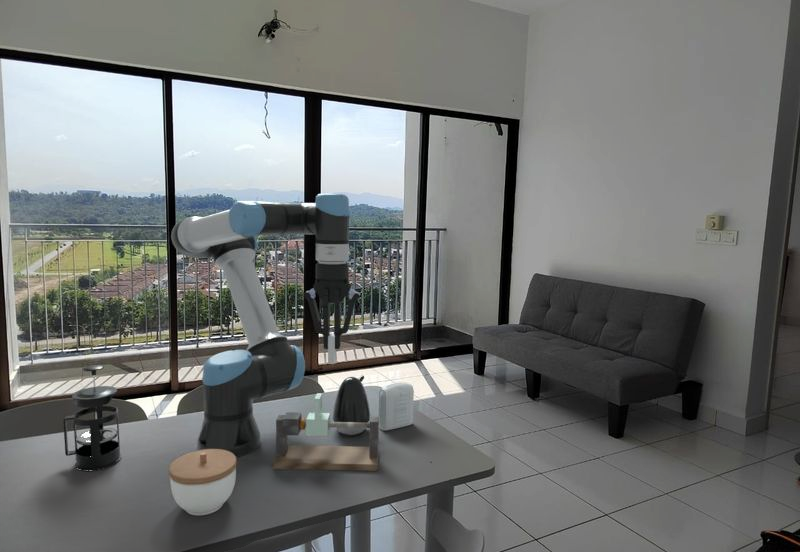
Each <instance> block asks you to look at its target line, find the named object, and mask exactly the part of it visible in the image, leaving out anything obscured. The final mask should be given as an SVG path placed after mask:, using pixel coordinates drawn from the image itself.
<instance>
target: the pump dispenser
mask: <svg viewBox="0 0 800 552" xmlns="http://www.w3.org/2000/svg"><path fill="white" fill-rule="evenodd" d="M364 379H365V376H364V375H363V374H362V375H360V377H358V378H357V377H355V376H349V377H346V378H345V379H343V381H342V382H341V383H340V385H339V388H338V390H337V393H336V396H335V400H334V404H333V410H332V422H359V423H370V417H371V408H370V403H369V399H368V394H367V392H366V389H365V387H364V384H363V383H362V382H363V381H364ZM335 428H336V430H337V431H338V432H340V434H343V435H346V436H355V435H356V436H357V435H359V434H361V433H363V432H364V431H365V430H366V429H367V428H347V427H335Z"/></svg>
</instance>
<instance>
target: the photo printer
mask: <svg viewBox="0 0 800 552" xmlns="http://www.w3.org/2000/svg"><path fill="white" fill-rule="evenodd" d="M414 394H415V390H414V386H413V384H412V383H408V382H403V381H401V382H399V381H397V382H393V383H390V384H388V385H385V386H384V387H382V388H380V390H379V396H378V399H379V400H378V417H379V430H380V431H383V432H384V431H391V430H394V429H400V428H403V427H408V426H411V425H413V422H414V401H415V400H414V396H415V395H414Z"/></svg>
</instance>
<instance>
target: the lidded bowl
mask: <svg viewBox="0 0 800 552" xmlns="http://www.w3.org/2000/svg"><path fill="white" fill-rule="evenodd" d="M168 474H169V479H170V490H171V493H172V497H173V498H174V499H173V500H174V501H175V503H176V504H177V505H178V506H179V507H180V508H181V509H183V510H184V511H185V512H186V513H187V514H188V515H191V516H198V517H199V516H201V517H202V516H206V515H210V514H213V513H216V512H217V511H219V510H220V509H221V508H222V507H223V505H224V504H225V502H227V501H228V499H229V498H230V496H231V495H232V494H233V493H232V492H233V490H234V488H235V484H236V479H237V457H236V456H235V455H234V454H233V453H231V452H229V451H226V450H222V449H204V450H198V449H197V450H194V451H191V452H188V453H185V454H183V455H181V456H179V457H178V458H177V457H176V459H174V460H173V461H172V463H170V465H169V467H168Z"/></svg>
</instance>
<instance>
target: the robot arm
mask: <svg viewBox="0 0 800 552" xmlns="http://www.w3.org/2000/svg"><path fill="white" fill-rule="evenodd" d="M350 214H351V212H350V201H349V197H348V196H347V195H346V194H341V193H318V194H317V195H316V196H315V202H303V201H301V202H299V201H298V202H297V201H296V202H293V201H291V202H290V201H289V202H288V201H287V202H286V201H260V200H258V201H256V200H252V199H251V200H239V201H235V202H234V203H233V204H232V206H231V207H230V209H227V210H223V211H220V212H216V213H213V214H210V215H206V216H189V217H187V218H182V219H181V220H179V221H177V222H176V223H175V225H174V226H173V228H172V229H171V235H170V239H171V241H172V242H171V243H172V245H173V246H174V248H175V249H176V250H177V251H178V252H179V253H180V254H182V255H184V256H186V257H189V258H192V259H213V262H214V265H215V267H216V268H217V269H218V270H222V272H223V274H224V278H225V280H226V283H227V286H228V288H229V292H230V296H231V298H232V300H233V303H234V306H235V309H236V312H237V315H238V318H239V321H240V324H241V326H242V329H243V332H244V335H245V338H246V341H247V342H248V343H247V344H248V346H247V347H246V349H235V350H226V351H222V352H219V353H216V354H214V355H212V356H210V357H208V358H207V360H206V361H205V362H204V363H203V366H202V367H203V368H202V378H201V379H202V380H201V381H202V384H203V385H202V390H203V392H202V393H203V421H202V425H201V428H200V429H199V430H200V431H199V433H198V438H197V442H196V443H197V451H198V450H204V449H222V450H226V451H229V452H231V453H233V454H234V455H235V456H236V458H237V457H241V456H245V455H247V454H249V453H251V452H254V451H255V450H256V449H258V447H259V446H260V444H261V431H260V429H259V425H258V423H257V421H256V417H255V416H254V412H253V410H254V408H253V407H254V406H253V403H254V400H258V399H261V398H265V397H269V396H272V395H277V394H280V393H287V391H289V390H293V389H295V388H297V387H298V386H299V385H300V384H301V383H302V382H303V380H304V376H305V373H306V372H305V371H306V363H305V361H306V360H305V356H304V354H303V353H304V352H302V349H301V348H300V347H298V345H292V344H291V345H290V342H289V340H288V337H287V336H285V335H283V334H281V333H280V332H279V329H278V326H277V324H276V321H275V317H274V316H273V312H272V310H271V308H270V305H269V302H268V299H267V297H266V294H265V291H264V288H263V286H262V283H261V281H260V277H259V275H258V273H257V268H256V267H255V264H254V259H255V258H256V252H257V250H258V247H259V241H258V240H259V236H261V237H262V236H287V235H289V236H291V235H312V236H313V235H315V261H317V262H316V264H315V282H314V284H313V288H310V290H306V292H304V293H303V297H304V298H305V300H306V301H307V303H308V307H309V310H310V311H309V312H310V314H311V315H310V316H311V320H312V322H313V323H312V324H313V327H314V331H315V333H316V334H321V335H322V336H323V349H324V350H327V355H328V356H327V364H328V365H335V364H336V361H337V350H340V348H341V344H342V343H341V341H342V340H341V338H342V335H345V334H348V331H349V330H350V324H351V321H352V317H353V314H354V309H355V305H356V302H357V301H358V299H359V298H360V296H361V293H360V292H359V291H356V290H355V289H353V288H352V286H351V283H350V278H349V276H350V272H349V271H350V265H349V263H348V261H349V260H350V259H349V258H350V253H349V252H350V240H349V239H350ZM316 294H317V296H318V298H320V300H321V301H322V307H323V308H322V312H323V313H322V315H323V316H322V318H323V319H322V320H321V317H320V313H319V309H318V306H317V302H316V297H317V296H316ZM348 294H349V295H348ZM347 295H348V299H349V303H348V307H347V310H346V314H345V318H344V323H343V325H342V313H341V312H342V302H343V301H344V299H345V298H346V296H347ZM331 303H333V308H334V327H333V328H334V333H330V332H331V325H330V324H331ZM322 322H323V323H322ZM322 324H323V325H322ZM342 326H343V327H342Z"/></svg>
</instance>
